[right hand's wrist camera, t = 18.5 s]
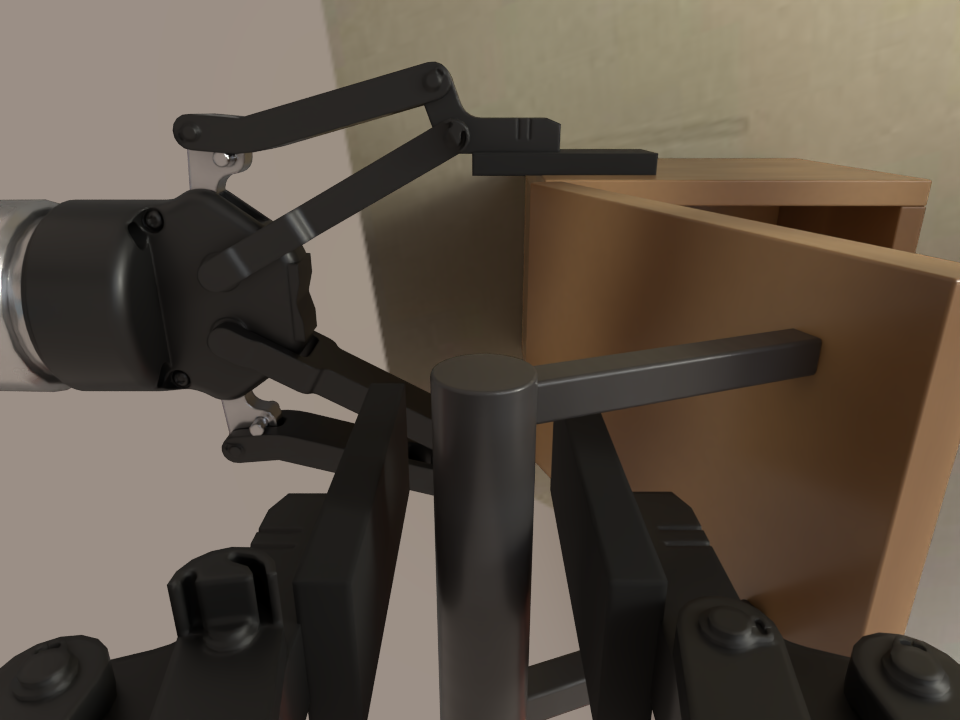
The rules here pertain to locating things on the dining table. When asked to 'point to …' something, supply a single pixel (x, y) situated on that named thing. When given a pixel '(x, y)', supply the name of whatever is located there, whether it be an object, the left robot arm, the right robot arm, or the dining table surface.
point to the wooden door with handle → (700, 425)
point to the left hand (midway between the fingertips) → (636, 296)
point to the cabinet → (772, 198)
